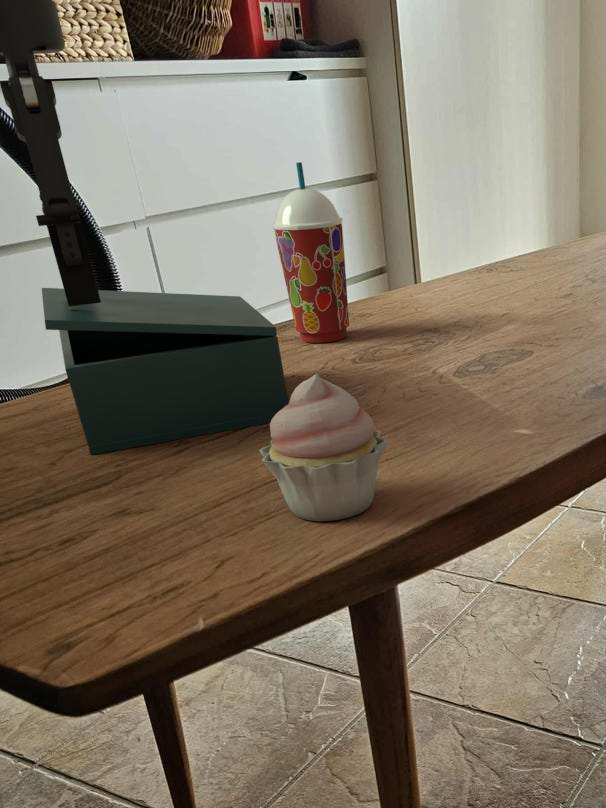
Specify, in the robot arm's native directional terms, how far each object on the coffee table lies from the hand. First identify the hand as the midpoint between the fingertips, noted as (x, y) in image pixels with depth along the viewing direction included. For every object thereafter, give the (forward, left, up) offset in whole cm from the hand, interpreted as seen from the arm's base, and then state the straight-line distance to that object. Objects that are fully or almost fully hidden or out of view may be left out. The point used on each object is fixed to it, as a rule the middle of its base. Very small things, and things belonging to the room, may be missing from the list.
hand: (82, 295), depth 83 cm
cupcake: (+13, -32, -12) cm, 37 cm away
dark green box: (+6, 0, -12) cm, 14 cm away
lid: (+6, 0, -3) cm, 6 cm away
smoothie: (+27, +22, -12) cm, 37 cm away
